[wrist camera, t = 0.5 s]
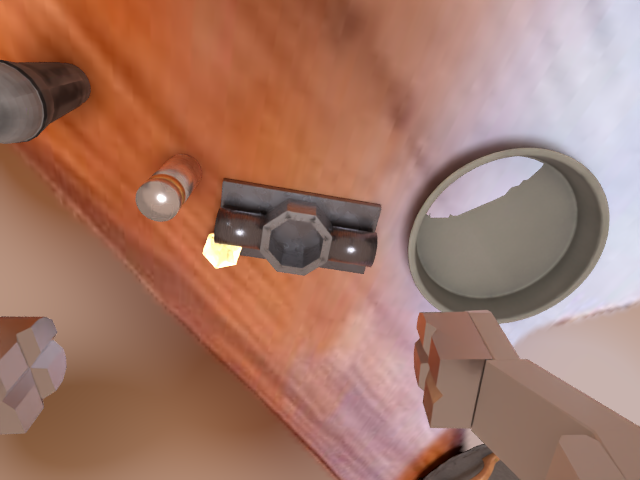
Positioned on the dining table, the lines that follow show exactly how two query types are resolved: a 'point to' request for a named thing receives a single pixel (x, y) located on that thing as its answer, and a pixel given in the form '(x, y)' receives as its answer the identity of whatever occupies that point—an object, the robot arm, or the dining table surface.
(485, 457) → the serving board
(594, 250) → the cake pan
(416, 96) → the dining table surface
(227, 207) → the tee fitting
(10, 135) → the beverage cup
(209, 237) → the yellow piece
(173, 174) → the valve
